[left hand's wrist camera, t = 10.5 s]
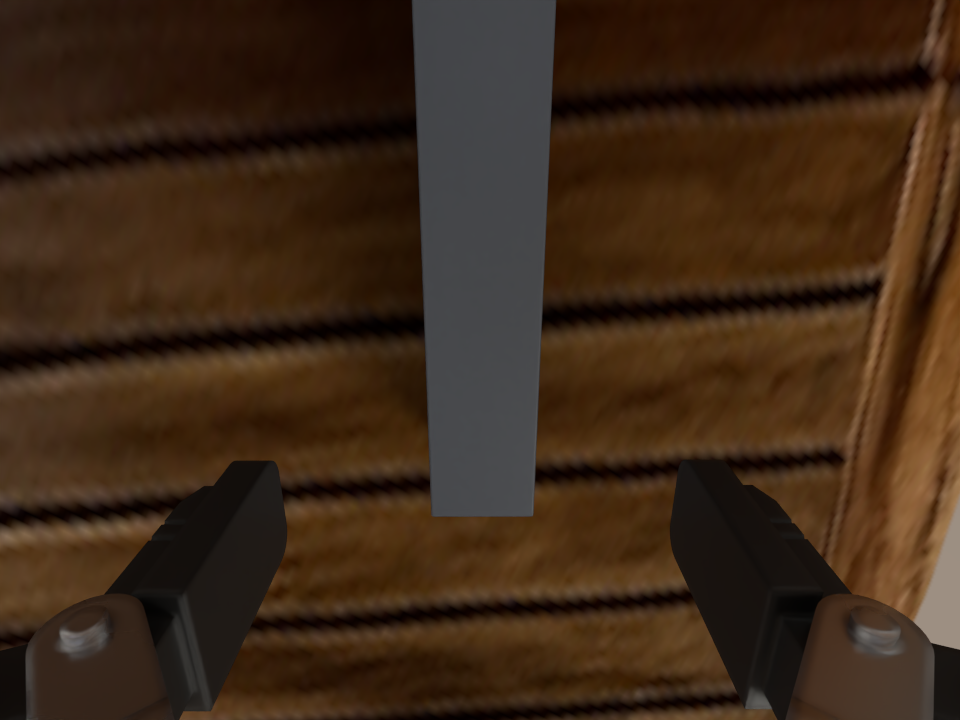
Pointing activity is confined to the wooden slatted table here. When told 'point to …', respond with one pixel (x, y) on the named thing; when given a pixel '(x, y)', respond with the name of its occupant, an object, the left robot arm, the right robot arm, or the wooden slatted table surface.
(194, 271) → the wooden slatted table surface
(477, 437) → the beam
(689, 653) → the wooden slatted table surface
